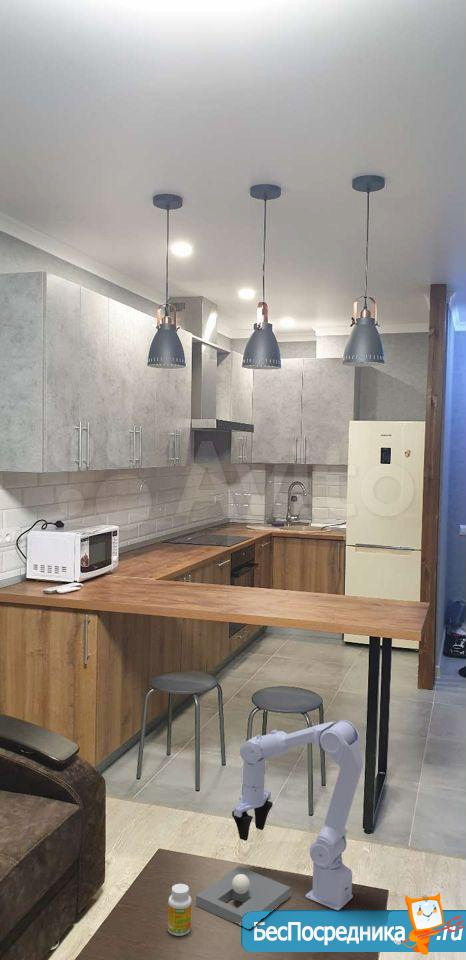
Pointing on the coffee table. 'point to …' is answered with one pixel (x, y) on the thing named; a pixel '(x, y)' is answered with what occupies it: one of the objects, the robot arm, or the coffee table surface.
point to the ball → (240, 884)
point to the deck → (242, 895)
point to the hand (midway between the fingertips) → (251, 833)
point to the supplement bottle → (179, 910)
